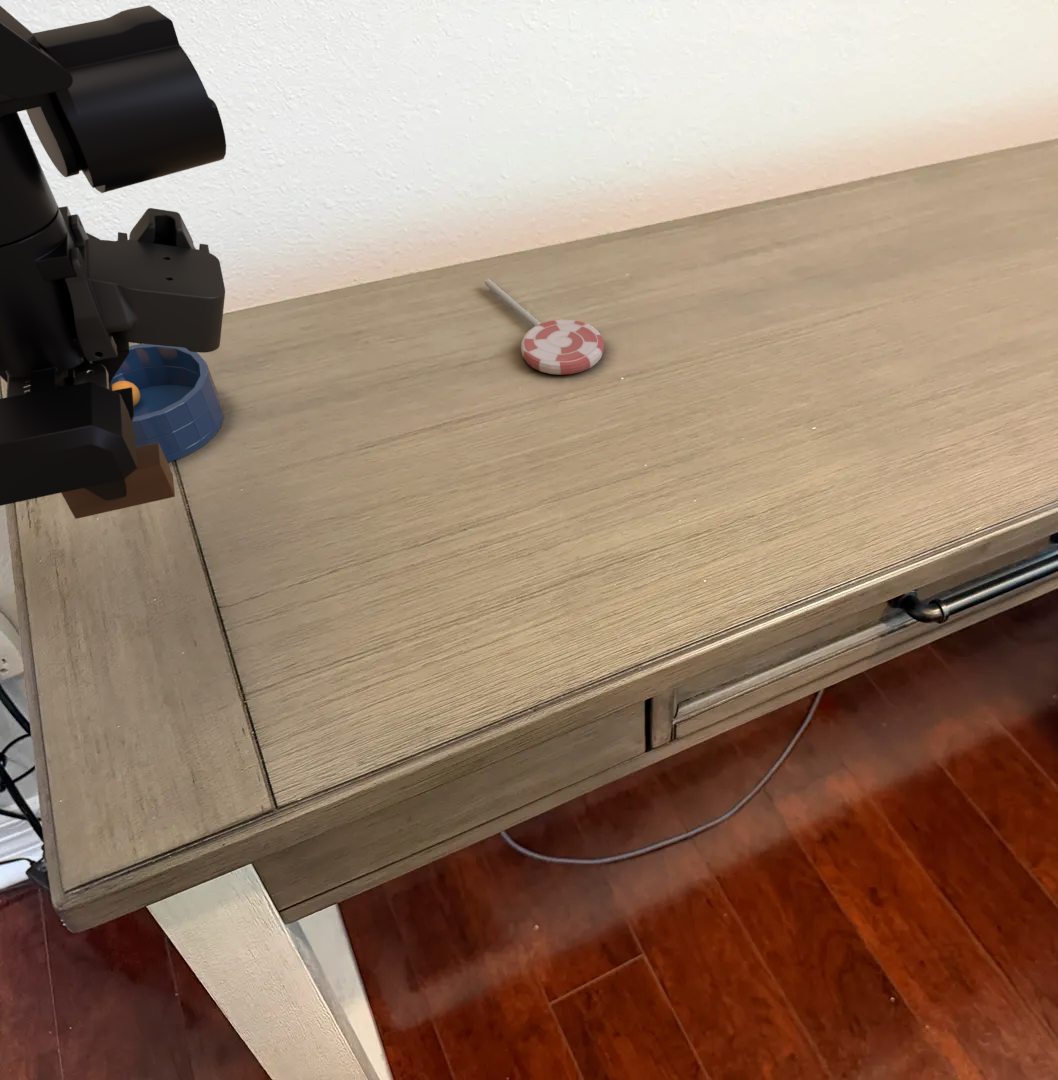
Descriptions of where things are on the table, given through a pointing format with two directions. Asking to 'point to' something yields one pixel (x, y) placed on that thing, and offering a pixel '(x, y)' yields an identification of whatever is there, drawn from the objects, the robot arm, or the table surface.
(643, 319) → the table surface
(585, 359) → the lollipop
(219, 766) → the table surface
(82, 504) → the tall brown square pillar
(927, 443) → the table surface
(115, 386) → the dough ball
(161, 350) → the bowl
